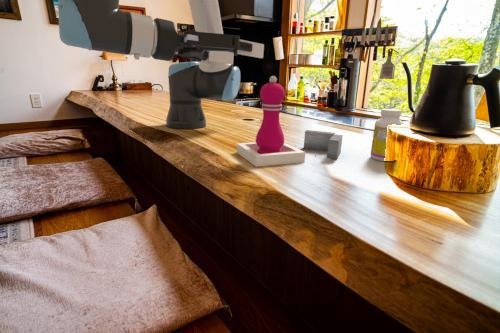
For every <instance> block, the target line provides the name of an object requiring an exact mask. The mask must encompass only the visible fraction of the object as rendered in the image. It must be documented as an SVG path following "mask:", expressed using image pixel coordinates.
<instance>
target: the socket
mask: <svg viewBox="0 0 500 333" xmlns="http://www.w3.org/2000/svg"><path fill="white" fill-rule="evenodd" d="M258 149H260V148H259V147H258V145H257V144H256V141H255V142H253V141H252V142H238V143H236V153H237V154H238V155H240V156H241V157H242V158H244V159H245V160H246V161H247V162H249V163H250V164H252V165H253V166H254V167H256V168H257V167H267V166H278V165H287V164H289V165H290V164H299V163H305V160H306V159H305V158H306V151H305V150H304V151H303V150H301V149H300V148H297V147H294V146H293V145H291V144H288V143H286V142H284V144H283V146H282V147H281V148H280V150H281V151H282V152H279V153H267V154H259V153H257V150H258Z"/></svg>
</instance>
